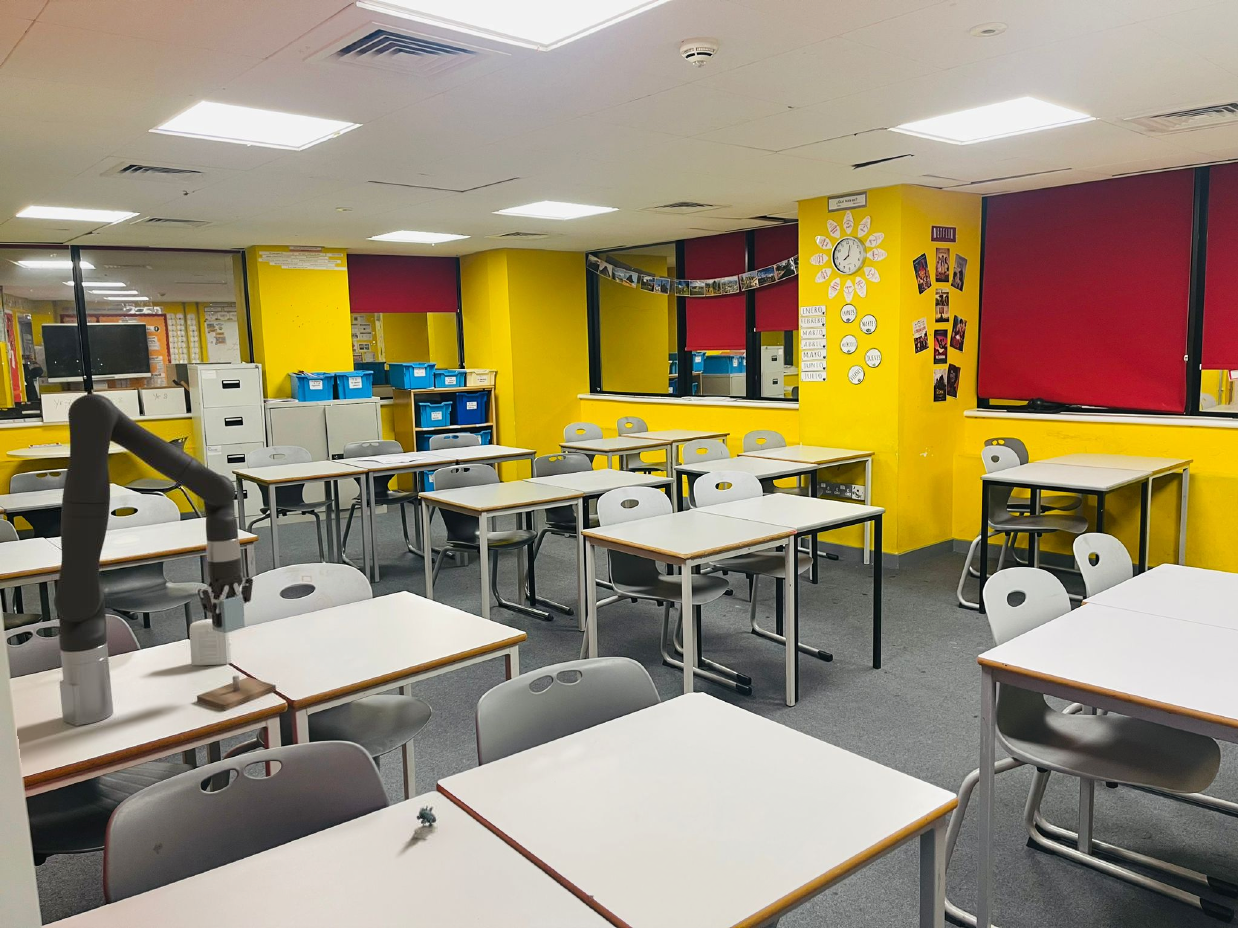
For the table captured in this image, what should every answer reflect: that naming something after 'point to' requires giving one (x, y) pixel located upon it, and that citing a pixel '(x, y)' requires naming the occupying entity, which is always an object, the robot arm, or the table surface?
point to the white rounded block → (209, 644)
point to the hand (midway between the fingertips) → (228, 623)
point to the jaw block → (231, 614)
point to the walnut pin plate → (236, 693)
